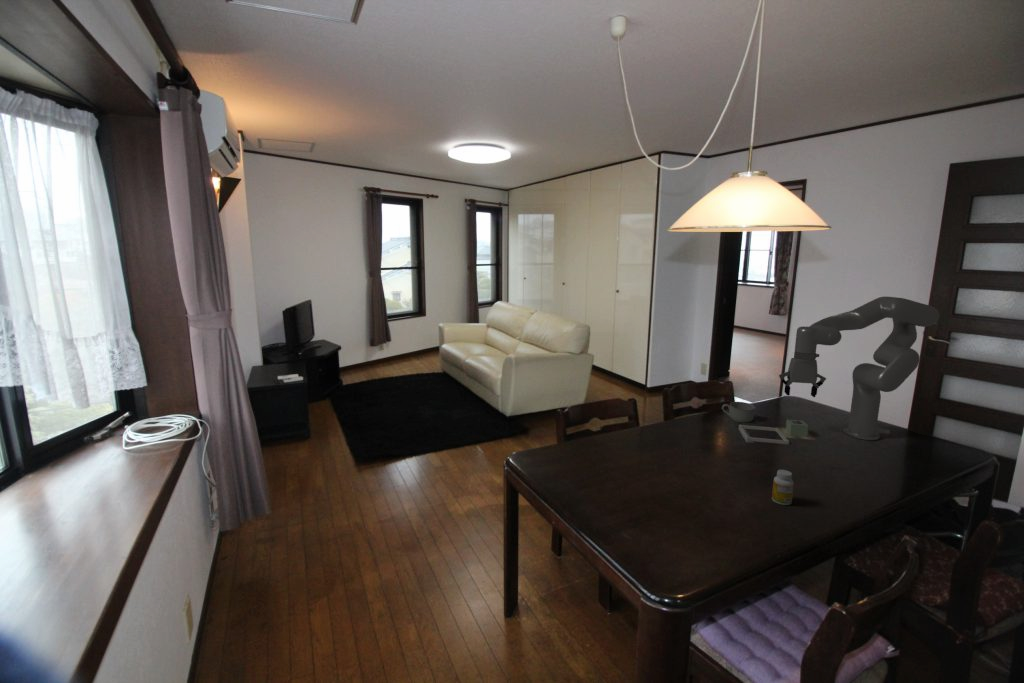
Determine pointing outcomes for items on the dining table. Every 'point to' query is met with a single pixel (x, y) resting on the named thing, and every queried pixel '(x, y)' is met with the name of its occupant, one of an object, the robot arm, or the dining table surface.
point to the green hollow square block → (796, 428)
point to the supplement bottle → (783, 488)
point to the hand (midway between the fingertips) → (800, 395)
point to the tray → (750, 439)
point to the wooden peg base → (796, 436)
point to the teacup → (740, 411)
